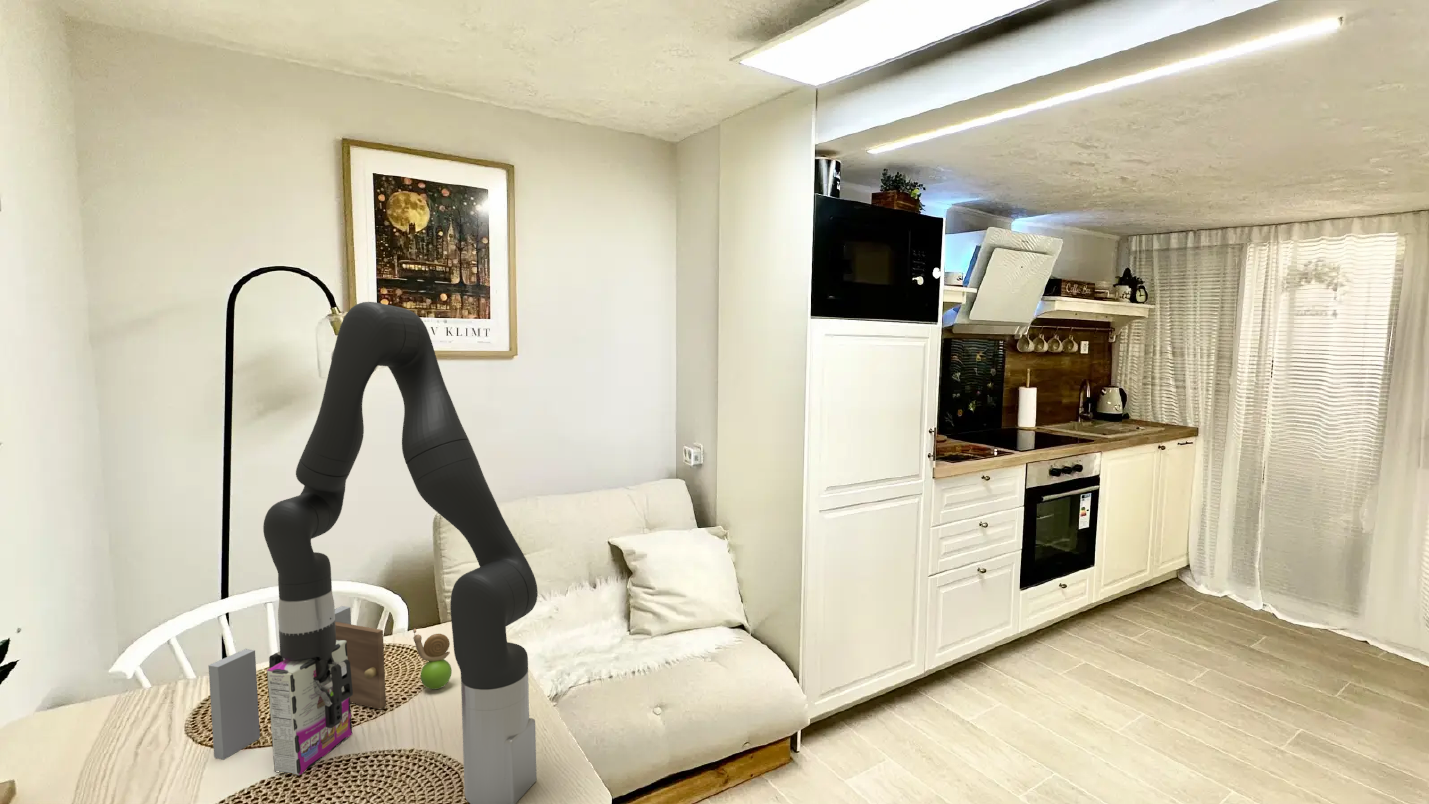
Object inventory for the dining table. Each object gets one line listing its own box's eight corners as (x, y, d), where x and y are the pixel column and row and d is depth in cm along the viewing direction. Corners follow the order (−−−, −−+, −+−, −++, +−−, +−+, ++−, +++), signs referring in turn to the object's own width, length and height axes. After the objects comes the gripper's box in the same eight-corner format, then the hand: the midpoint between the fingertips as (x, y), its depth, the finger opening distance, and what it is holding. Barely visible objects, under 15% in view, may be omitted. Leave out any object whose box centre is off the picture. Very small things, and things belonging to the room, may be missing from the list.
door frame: (353, 683, 127) (350, 607, 126) (223, 759, 103) (217, 667, 102) (345, 681, 128) (342, 606, 127) (214, 757, 104) (208, 665, 103)
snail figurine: (415, 685, 126) (412, 624, 126) (451, 678, 129) (449, 618, 128) (415, 698, 122) (413, 635, 121) (452, 691, 124) (450, 629, 123)
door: (334, 694, 122) (330, 620, 121) (385, 705, 118) (382, 630, 117) (322, 700, 120) (319, 626, 119) (375, 712, 116) (371, 635, 115)
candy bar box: (327, 731, 111) (323, 636, 110) (353, 735, 110) (349, 639, 109) (270, 773, 100) (264, 668, 99) (298, 777, 99) (293, 671, 98)
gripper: (363, 617, 105) (367, 715, 106) (293, 607, 109) (298, 702, 110) (322, 637, 98) (327, 742, 99) (250, 625, 102) (255, 726, 103)
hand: (312, 721), depth 105 cm, fingers open, 8 cm apart
